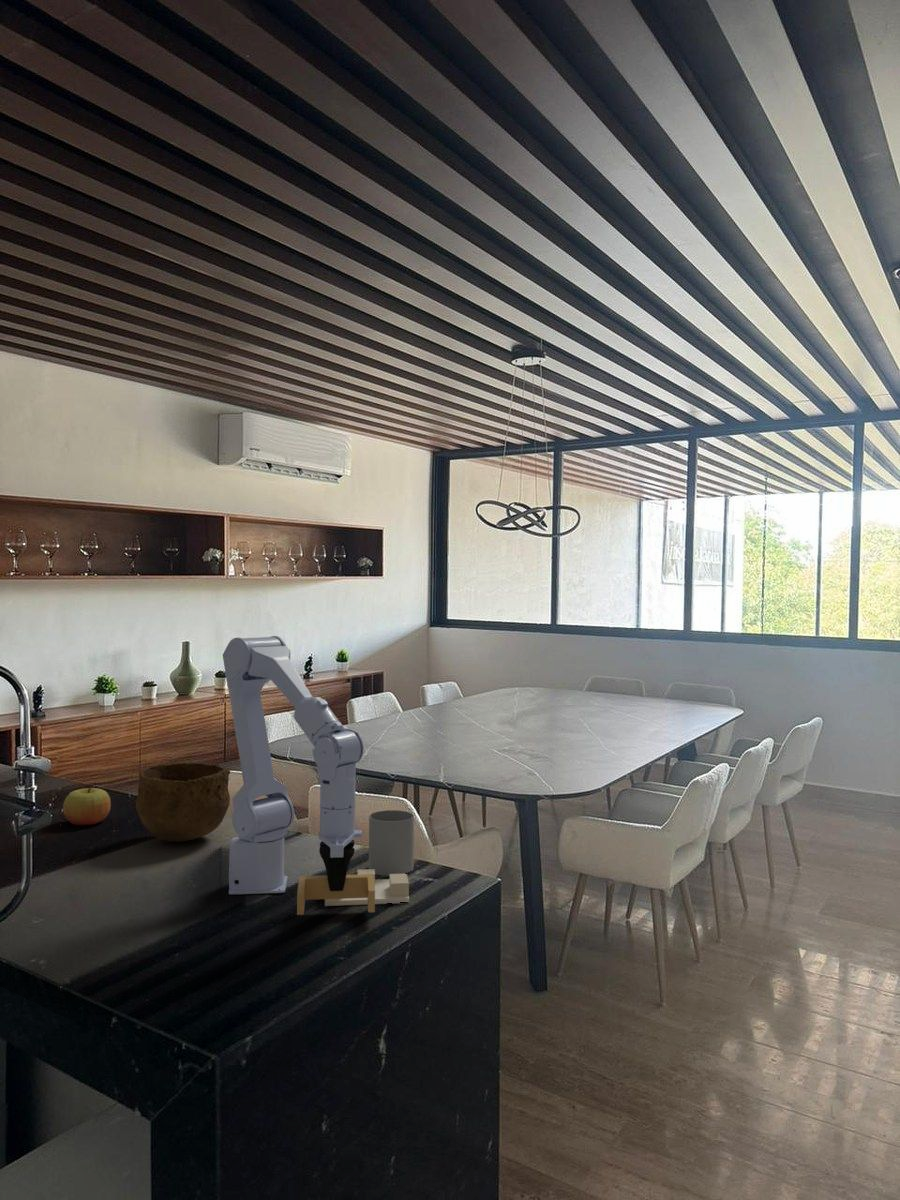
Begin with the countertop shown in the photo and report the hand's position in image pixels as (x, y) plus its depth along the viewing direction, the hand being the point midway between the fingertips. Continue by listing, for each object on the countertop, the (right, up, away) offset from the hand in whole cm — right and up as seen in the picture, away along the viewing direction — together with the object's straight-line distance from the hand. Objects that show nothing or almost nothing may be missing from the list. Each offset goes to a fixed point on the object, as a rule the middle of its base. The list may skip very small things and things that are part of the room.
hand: (336, 888), depth 141 cm
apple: (-63, -3, +53) cm, 82 cm away
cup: (+7, -4, +22) cm, 24 cm away
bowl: (-37, -3, +40) cm, 54 cm away
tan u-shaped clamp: (0, -2, -3) cm, 3 cm away
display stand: (+4, -4, +8) cm, 10 cm away
